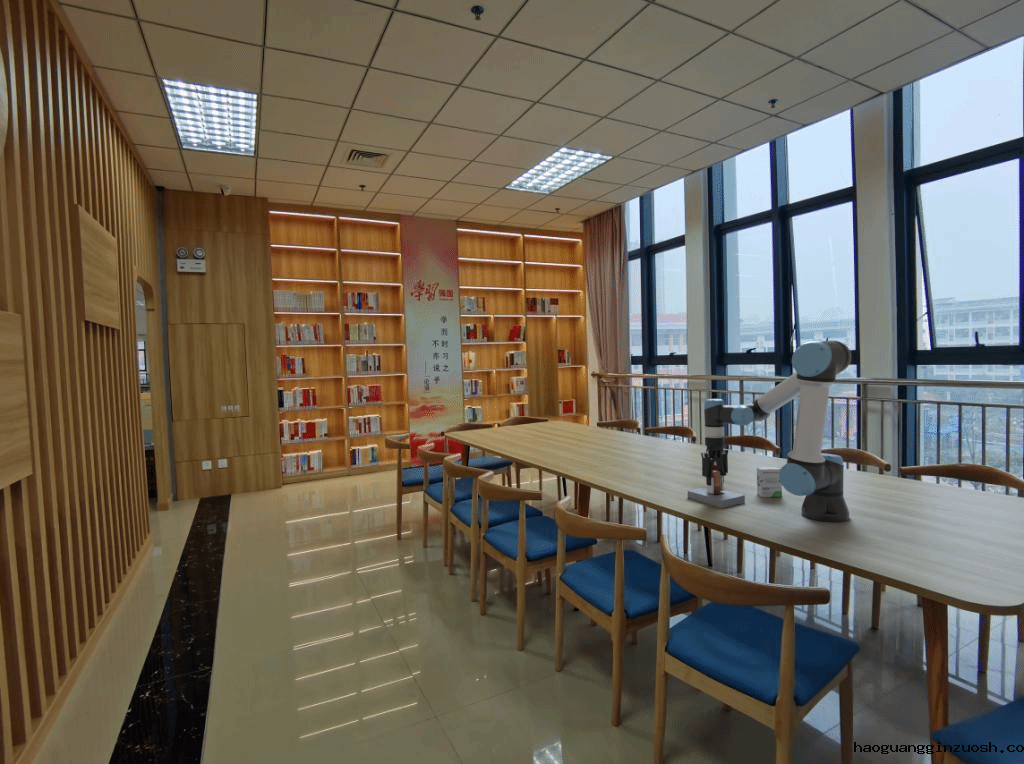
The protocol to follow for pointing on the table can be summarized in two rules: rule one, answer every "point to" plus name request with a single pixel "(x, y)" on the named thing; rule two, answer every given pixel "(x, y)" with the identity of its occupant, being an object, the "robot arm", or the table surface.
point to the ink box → (769, 482)
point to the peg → (716, 483)
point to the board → (716, 497)
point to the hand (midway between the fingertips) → (715, 491)
